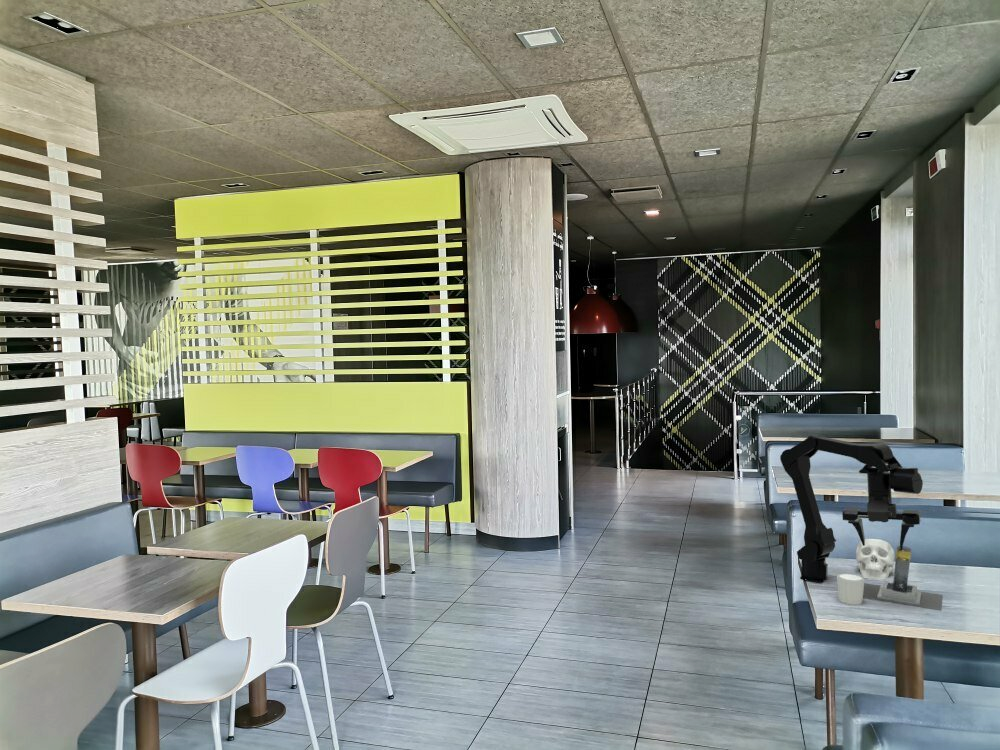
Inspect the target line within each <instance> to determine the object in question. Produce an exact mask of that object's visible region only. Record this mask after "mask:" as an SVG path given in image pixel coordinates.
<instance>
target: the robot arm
mask: <svg viewBox="0 0 1000 750" xmlns="http://www.w3.org/2000/svg"><path fill="white" fill-rule="evenodd" d="M818 451H821V452H826V453H829V454H835V455H840V456H843V457H844V456H845V457H849V458H852V459H854V460H856V461H858V462H859V463H861V464H864V465H863V467H861V469H859V470H858V472H859V473H860V474H866V475H867V476H866V478H867V496H868V497H867V499H868V502H867V505H866V506H867V507H866V508H867V511H866V510H861V508H860V507H851V506H850V507H848V506H846V507H845V508H844V509H843V510H842V514H841V515H842V520H843V521H847V523H848V524H851V525H852V527H854V528H855V530H856V532H857V535H858V536H859V539H860V541H861V542H862V544H863V546H865V539H866V538H865V537H866V536H865V531H864V524H863V519H868V521H869V522H872V523H873V522H882V523H887V522H889V520H892V521H901V525H900V526H901V527H900V536H899V538H900V540H899V546H900V548H901V549H902V546H904V542H905V539H906V536H907V534H908V532H909V529H910V528H914V527H915V525H920V524H921V512H919V511H918V510H910V509H909V510H907V509H903V511H902V512H897V503H893V501H892V499H893V498H892V496H893V495H892V490H893V491H894V492H895V493H903V494H914V495H915V494H916V495H919V494H920V493H921V492H922V489H923V483H924V481H923V479H922V476H921V473H919V470H918V469H919V468H917V467H903V466H902V464H901V463H900V461H898V459H897V458H896V457H895V456H894V453H893V451H892V449H891V448H890V446H889V445H888V444H884V443H855V442H850V441H846V440H841V439H838V438H837V439H836V438H830V437H828V436H827V437H826V436H822V435H819V434H815V435H809V436H807V438H805V439H804V440H803V441H801V442H799V443H797V444H796V445H793V447H791V448H788V449H785V450H783V451H782V452H781V454H780V456H779V459H780V462H781V465H782V468H783V469H784V472H785V473H786V474H787V475H788V476H789V477H790V478H791V480H792V484H793V486H794V487H793V488H794V490H795V493H796V498H797V501H798V504H799V508H800V511H801V515H802V518H803V521H804V527H805V529H804V534H803V539H804V540H803V541H804V545H803V546H802V547H800V549H798V550H797V551H796V555H797V558H798V559H799V560H801V567H800V568H801V570H800V571H801V575H800V576H799V580H801V581H802V580H803V581H809V582H815V583H821V584H822V583H824V582H826V581H825V580H827V578H828V577H829V576H828V575H829V573H828V568H829V567H828V566H829V565H828V563H826V560H827V559H826V558H829V556H830V555H831V553H832V552H833V551H834V549H835V548H836V544H835V543H836V542H837V539H836V538H835V536H834V531H833V528H832V527H827V526H826V525H825V524H824V523H823V520H822V516H821V513H820V510H819V506H818V503H817V499H816V496H815V495H816V494H815V492H814V489H813V485H812V483H811V482H812V481H811V479H810V472H811V460H810V459H811V458H812V457H813V456H814V457H815V455H816V454H818ZM805 579H806V580H805Z"/></svg>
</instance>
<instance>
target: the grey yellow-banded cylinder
mask: <svg viewBox="0 0 1000 750" xmlns="http://www.w3.org/2000/svg"><path fill="white" fill-rule="evenodd" d="M895 550H896V551H895V552H896V553H895V560H894V569H893V570H894V571H893V581H892V582H893V589H892V590H897V591H903V592H907V585H908V580H909V573H910V563H911V555H912V549H911V548H910V547H909V546H908V547H907V546H905V545H903V546H902V549H901V548H900V545H898V546H897V547H896V549H895Z"/></svg>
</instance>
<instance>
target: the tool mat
mask: <svg viewBox="0 0 1000 750" xmlns="http://www.w3.org/2000/svg"><path fill="white" fill-rule="evenodd" d="M881 586H882V585H880V584H879V585H878V584H873V583H865V582H864V590H863V599H866V600H873V601H878V602H884V603H892V604H898V605H903V606H909V607H910V606H911V607H915V608H921V609H926V610H927V609H928V610H935V611H940V612H941V611H942V607H943V599H944V598H943V594H938V593H933V592H925V591H919V590H917V591H918V592H921V600H920V606H917V605H910V604H904V603H898V602H892V601H885V600H879V599H877V595H878V593H879V590H880V587H881Z"/></svg>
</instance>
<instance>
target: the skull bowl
mask: <svg viewBox="0 0 1000 750" xmlns="http://www.w3.org/2000/svg"><path fill="white" fill-rule="evenodd" d="M855 556H856V561H857V565H858V568H859V570H860V571H859V572H860V574H861V576H862V577H864V578H866V579H870V580H875V581H882V580H886V579H888V578H889V576H890V573H891V572H892V571H893V570H894V569H893V568H894V567H895V561H896V554H895V550H894V548H893V547H892V546H891V544H890V543H889V542H887V541H886V540H883V539H877V538H865V546H863V544H862V542H861V540H860V541H859V542H858V544H857V547H856V553H855Z"/></svg>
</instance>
